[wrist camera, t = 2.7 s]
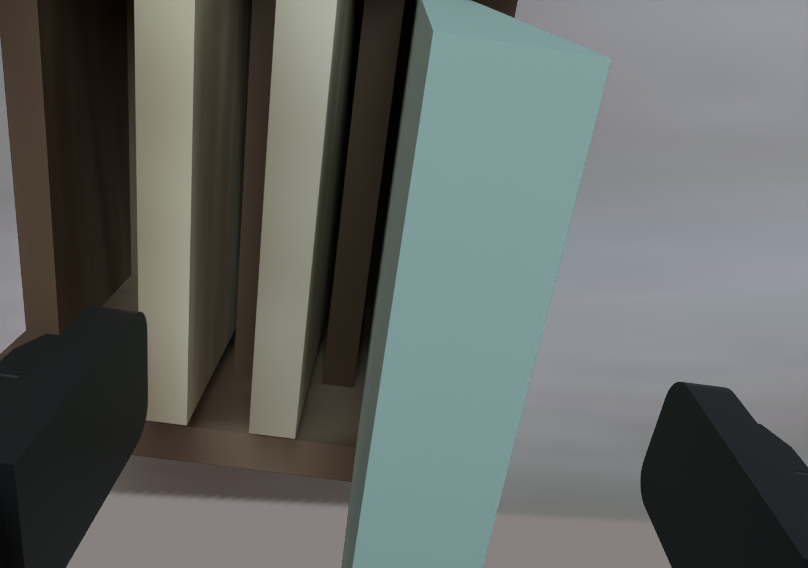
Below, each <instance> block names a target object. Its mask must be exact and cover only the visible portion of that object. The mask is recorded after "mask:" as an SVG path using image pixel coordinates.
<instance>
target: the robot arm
mask: <svg viewBox="0 0 808 568" xmlns="http://www.w3.org/2000/svg"><path fill="white" fill-rule="evenodd" d="M147 409H148V337H147V321H146V317H145V315H144V313H142V312H138V311H131V310H123V309H115V308H107V307H99V306H88V307H87V308H85V309H84V310H83V311H82V312H81V313H80V314H79V315H78V316H77V317H76V319H75V320H74V321H73V322H72V323H71V324H70V325H69V326H68V327H67V328H66V329H65V330H64V331H63V332H62V333H61V334H60V335H54V334H44V335H42V336H40V337H38V338H36V339H33V340H31V341H29V342H27V343H25V344H23V345H21V346H19V347H17V348H14V349H12V350H11V351H10V352H9V353H8V354H7V355H6V356H5V357H4V358H3V359H2V360H1V361H0V568H66V566H67V564H68V563H69V561H70V559H71V558H72V556H73V554H74V552H75V550H76V549H77V547H78V546H79V544H80V542H81V540H82V539H83V537H84V535H85V534H86V532H87V530H88V528H89V527H90V525H91V523H92V522H93V520H94V518H95V516H96V514H97V513H98V511H99V509H100V508H101V506H102V504H103V502H104V501H105V499H106V497H107V496H108V494H109V492H110V491H111V489H112V487H113V485H114V484H115V482H116V480H117V479H118V477H119V475H120V473H121V472H122V470H123V468H124V467H125V465H126V463H127V461H128V460H129V458H130V456H131V454H132V453H133V451H134V449H135V448H136V446H137V444H138V442H139V440H140V438H141V435H142V432H143V429H144V425H145V421H146V416H147ZM641 494H642V499H643V503H644V506H645V508H646V510H647V513H648V515H649V517H650V519H651V522H652V524H653V526H654V528H655V530H656V533H657V535H658V537H659V539H660V542H661V544H662V546H663V549H664V551H665V553H666V555H667V557H668V560H669V562H670V564H671V567H672V568H808V467H807V466H806V465H805V463H804V462H803V461H802V460H801V458H800V457H799V456H798V455H797V453H796V452H795V451H794V450H793V448H792V447H790V446H789V445H788V444H786V443H785V442H784V441H782V440H781V439H780V438H779V437H777V436H776V435H775V434H773V433H772V432H771V431H769V430H768V429H767V428H765V427H764V426H763V425H761V424H757V422H756V421H755V420H754V418H753V417H752V416H751V415H750V413H749V412H748V411H747V409H746V408H745V407H744V406H743V404H742V403H741V402H740V400H739V399H738V398H737V397H736V395H735V394H734V393H733V392H732V391H731V390H730V389H728V388H725V387H717V386H709V385H701V384H694V383H686V382H677V383H675V384H673V385H672V386H671V388H670V389H669V391H668V393H667V395H666V398H665V401H664V404H663V407H662V410H661V412H660V415H659V418H658V421H657V424H656V427H655V430H654V433H653V435H652V438H651V441H650V444H649V447H648V450H647V453H646V456H645V459H644V462H643V465H642V470H641Z"/></svg>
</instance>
